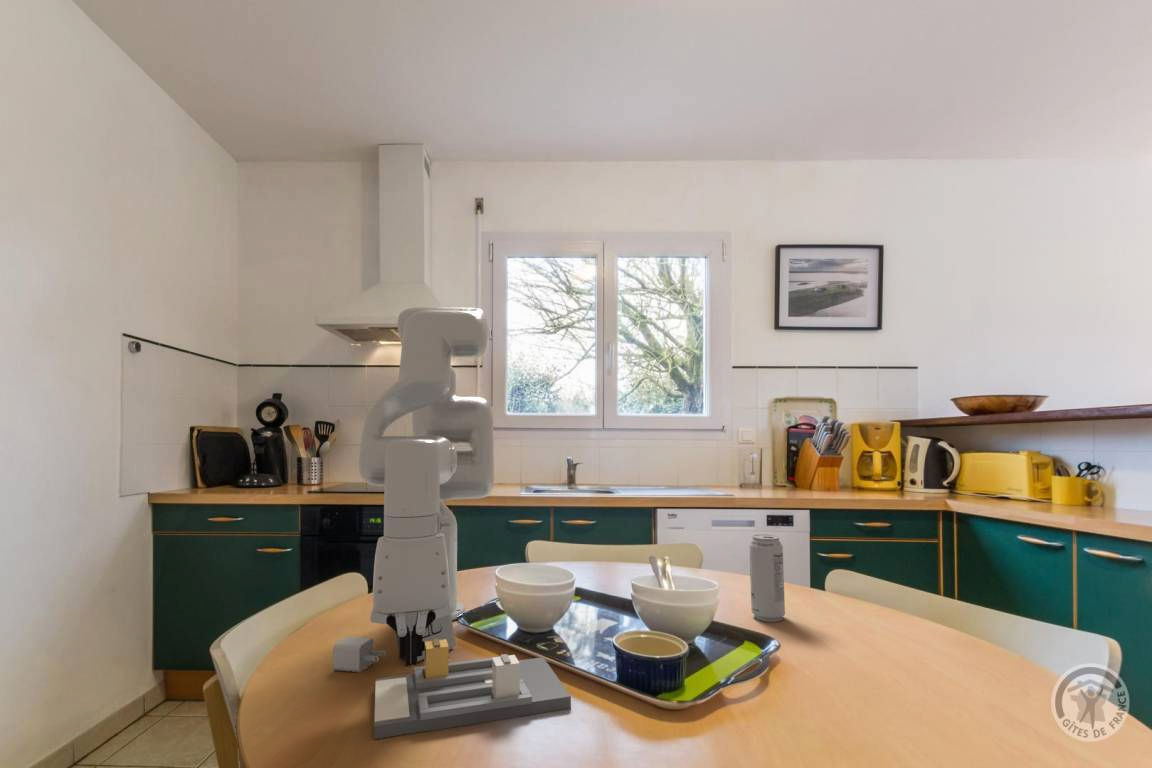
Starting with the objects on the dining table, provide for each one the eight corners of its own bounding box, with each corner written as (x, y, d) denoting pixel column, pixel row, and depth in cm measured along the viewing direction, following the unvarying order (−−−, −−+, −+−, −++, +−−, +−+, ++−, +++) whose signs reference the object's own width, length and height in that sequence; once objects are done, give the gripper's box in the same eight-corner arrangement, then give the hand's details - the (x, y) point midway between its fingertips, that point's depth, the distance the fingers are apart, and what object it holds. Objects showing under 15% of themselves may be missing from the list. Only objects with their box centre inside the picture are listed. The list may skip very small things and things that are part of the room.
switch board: (375, 689, 84) (375, 672, 84) (542, 666, 91) (542, 651, 91) (374, 740, 70) (374, 720, 70) (571, 709, 77) (571, 690, 77)
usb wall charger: (348, 661, 94) (348, 635, 94) (388, 664, 93) (389, 638, 93) (332, 671, 90) (333, 644, 90) (374, 675, 89) (375, 647, 89)
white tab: (492, 693, 78) (492, 655, 79) (514, 689, 79) (514, 652, 80) (496, 703, 76) (496, 663, 76) (519, 699, 77) (519, 660, 77)
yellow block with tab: (424, 674, 85) (424, 639, 85) (446, 671, 86) (446, 637, 86) (425, 683, 82) (426, 646, 82) (448, 680, 83) (448, 644, 83)
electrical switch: (409, 666, 92) (406, 603, 93) (389, 662, 95) (387, 601, 96) (457, 648, 99) (454, 590, 100) (437, 645, 102) (434, 588, 104)
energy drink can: (757, 610, 117) (755, 532, 119) (789, 616, 114) (786, 535, 115) (747, 619, 113) (744, 537, 114) (779, 624, 109) (776, 540, 110)
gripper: (462, 520, 90) (462, 646, 89) (356, 526, 85) (354, 659, 84) (469, 528, 83) (468, 665, 81) (353, 534, 78) (351, 680, 77)
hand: (410, 662), depth 83 cm, fingers closed
